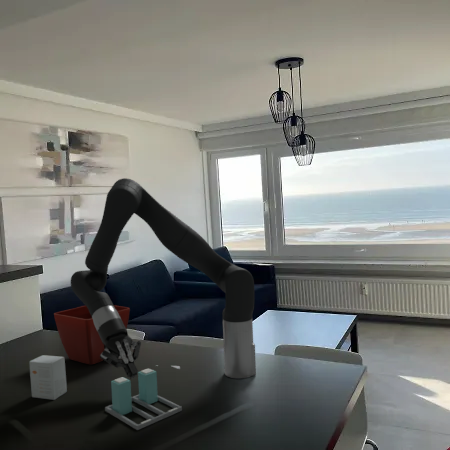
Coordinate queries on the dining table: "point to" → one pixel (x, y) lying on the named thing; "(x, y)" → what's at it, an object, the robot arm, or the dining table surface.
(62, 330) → the plant pot
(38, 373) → the small box
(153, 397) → the tab
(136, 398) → the switch board
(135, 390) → the dining table surface
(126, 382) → the tab
